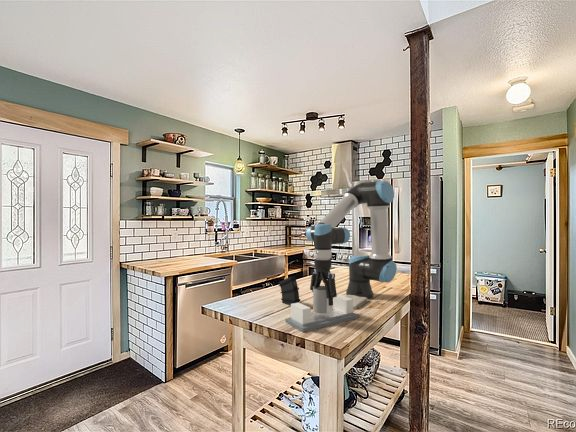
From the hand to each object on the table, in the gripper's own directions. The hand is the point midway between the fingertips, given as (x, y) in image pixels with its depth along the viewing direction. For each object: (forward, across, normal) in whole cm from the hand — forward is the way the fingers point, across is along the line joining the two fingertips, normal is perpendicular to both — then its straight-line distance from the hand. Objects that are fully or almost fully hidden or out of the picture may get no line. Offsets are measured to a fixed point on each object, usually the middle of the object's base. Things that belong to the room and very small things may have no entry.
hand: (322, 309), depth 133 cm
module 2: (+2, 0, +12) cm, 12 cm away
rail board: (+5, 0, 0) cm, 5 cm away
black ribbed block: (+5, -28, 0) cm, 28 cm away
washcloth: (+5, -11, +29) cm, 31 cm away
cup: (+1, 0, 0) cm, 1 cm away
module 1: (+2, 0, -12) cm, 12 cm away
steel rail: (+3, 0, 0) cm, 3 cm away
